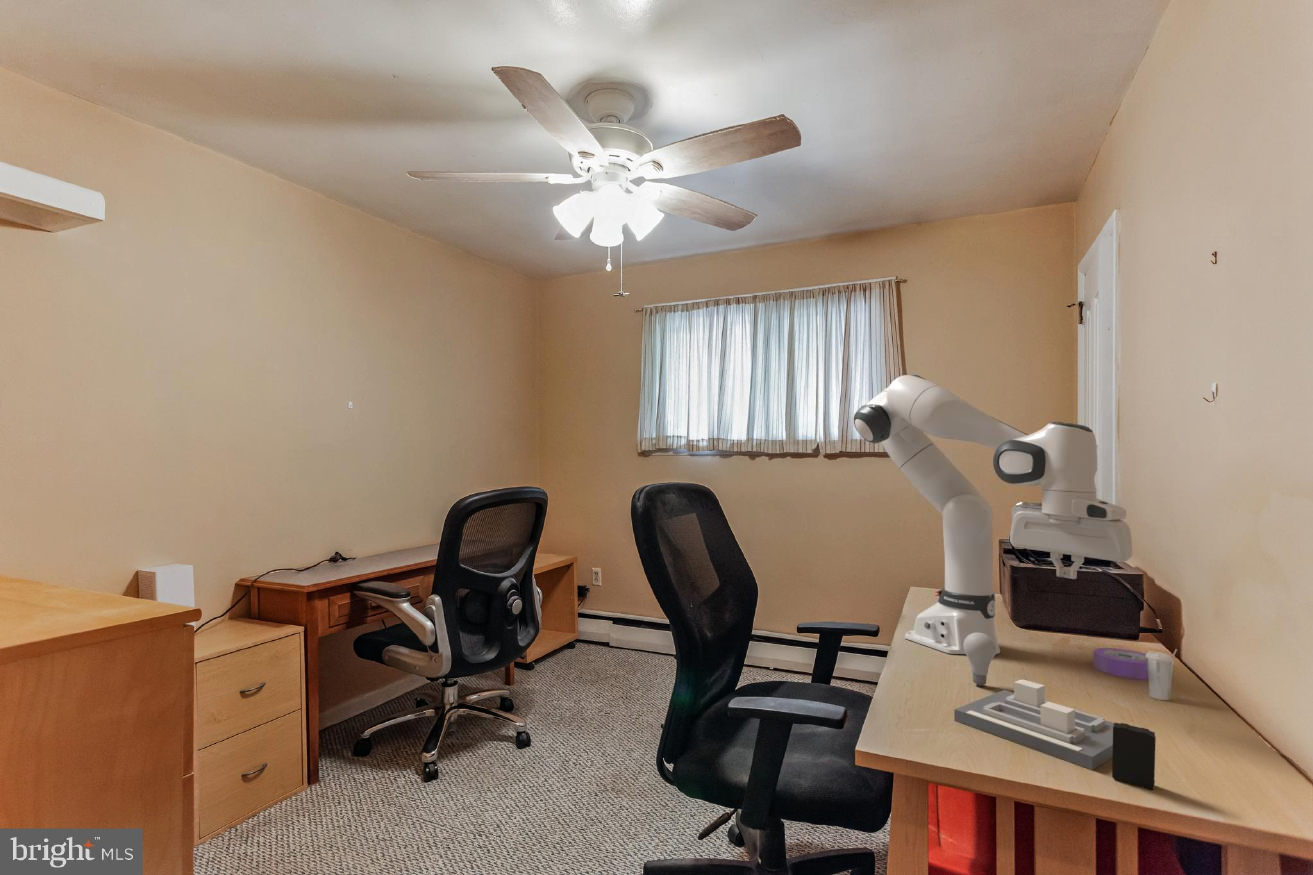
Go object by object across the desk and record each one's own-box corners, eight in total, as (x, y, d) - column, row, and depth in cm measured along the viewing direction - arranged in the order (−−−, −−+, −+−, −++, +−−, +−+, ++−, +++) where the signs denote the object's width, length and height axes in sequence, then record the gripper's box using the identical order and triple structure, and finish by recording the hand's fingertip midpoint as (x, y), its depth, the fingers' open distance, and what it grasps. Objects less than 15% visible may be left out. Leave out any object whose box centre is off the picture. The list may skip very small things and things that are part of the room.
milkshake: (1184, 703, 126) (1183, 652, 126) (1153, 700, 127) (1152, 650, 127) (1170, 695, 130) (1170, 645, 131) (1140, 692, 131) (1140, 643, 132)
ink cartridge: (1154, 785, 93) (1155, 730, 93) (1154, 791, 91) (1155, 735, 92) (1113, 773, 96) (1114, 720, 96) (1111, 779, 95) (1113, 725, 95)
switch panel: (954, 720, 115) (954, 703, 115) (1004, 700, 126) (1004, 684, 126) (1092, 770, 97) (1092, 750, 97) (1137, 741, 108) (1136, 723, 108)
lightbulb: (960, 679, 137) (960, 628, 138) (990, 682, 136) (990, 630, 136) (967, 689, 131) (967, 635, 132) (1000, 692, 130) (1000, 637, 130)
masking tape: (1081, 665, 150) (1081, 648, 150) (1119, 661, 153) (1118, 645, 153) (1131, 682, 138) (1131, 664, 138) (1170, 677, 142) (1170, 660, 142)
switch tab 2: (1040, 729, 107) (1040, 705, 107) (1048, 725, 108) (1048, 701, 109) (1066, 738, 103) (1066, 713, 104) (1074, 733, 105) (1074, 709, 105)
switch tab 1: (1014, 703, 118) (1014, 682, 118) (1021, 700, 120) (1021, 679, 120) (1037, 711, 115) (1036, 688, 115) (1044, 707, 116) (1044, 685, 116)
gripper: (1005, 501, 129) (1003, 569, 129) (1123, 511, 113) (1121, 589, 113) (1019, 500, 133) (1017, 566, 133) (1136, 510, 117) (1134, 586, 116)
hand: (1066, 577), depth 123 cm, fingers closed
